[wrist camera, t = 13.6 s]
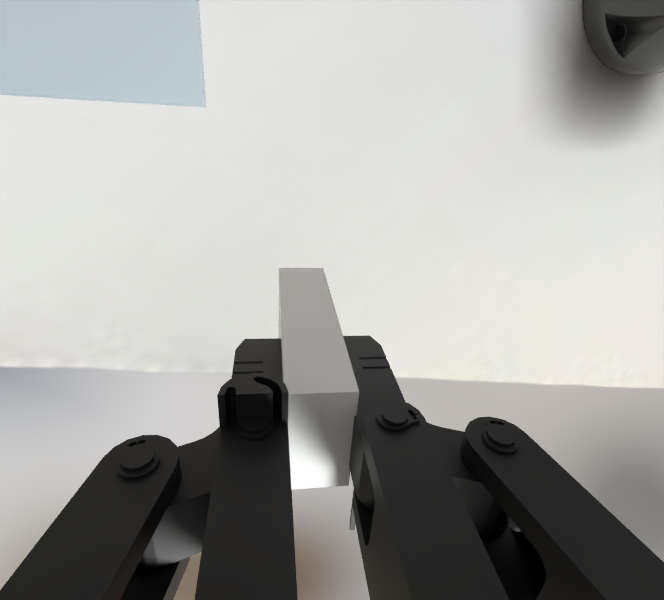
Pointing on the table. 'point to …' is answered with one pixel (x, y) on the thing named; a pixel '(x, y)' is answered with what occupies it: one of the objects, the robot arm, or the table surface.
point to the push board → (103, 50)
